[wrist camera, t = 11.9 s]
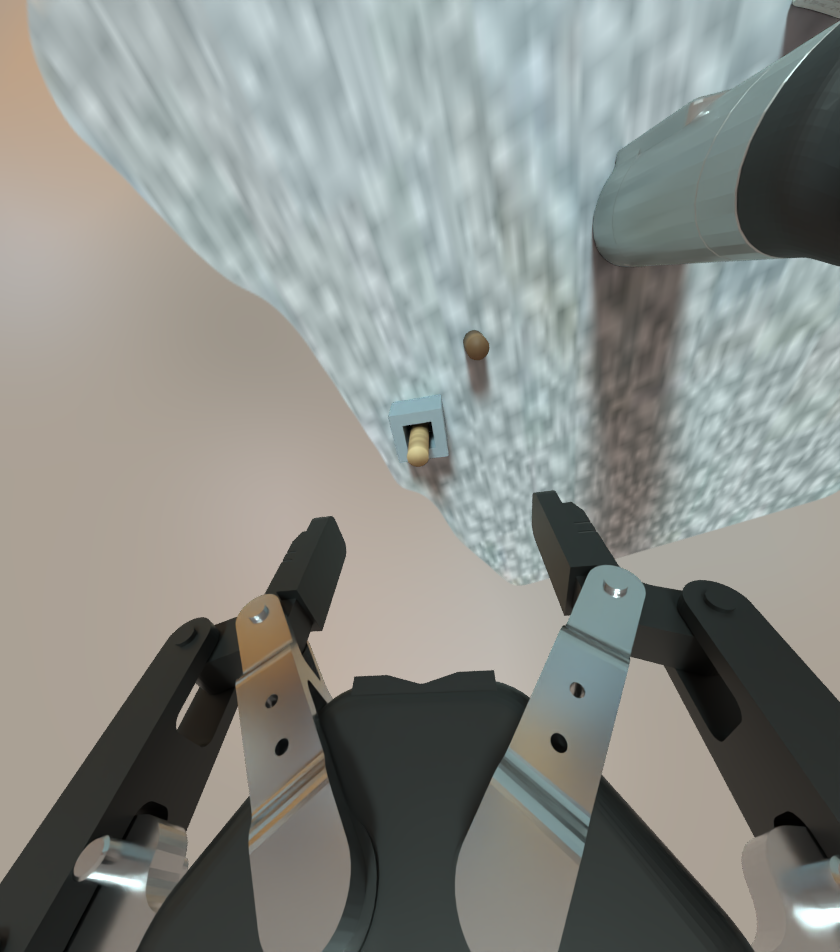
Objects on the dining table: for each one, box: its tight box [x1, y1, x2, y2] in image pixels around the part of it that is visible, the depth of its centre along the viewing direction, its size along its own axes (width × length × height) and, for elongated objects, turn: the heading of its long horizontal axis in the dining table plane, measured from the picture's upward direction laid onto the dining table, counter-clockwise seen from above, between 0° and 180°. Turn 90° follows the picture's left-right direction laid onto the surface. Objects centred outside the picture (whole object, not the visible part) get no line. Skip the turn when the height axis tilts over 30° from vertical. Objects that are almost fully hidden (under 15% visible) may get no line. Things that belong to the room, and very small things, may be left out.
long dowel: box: [407, 422, 429, 467], centre depth 38 cm, size 2×2×10 cm
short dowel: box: [463, 330, 489, 360], centre depth 34 cm, size 2×2×4 cm
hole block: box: [388, 395, 449, 463], centre depth 40 cm, size 6×6×5 cm
